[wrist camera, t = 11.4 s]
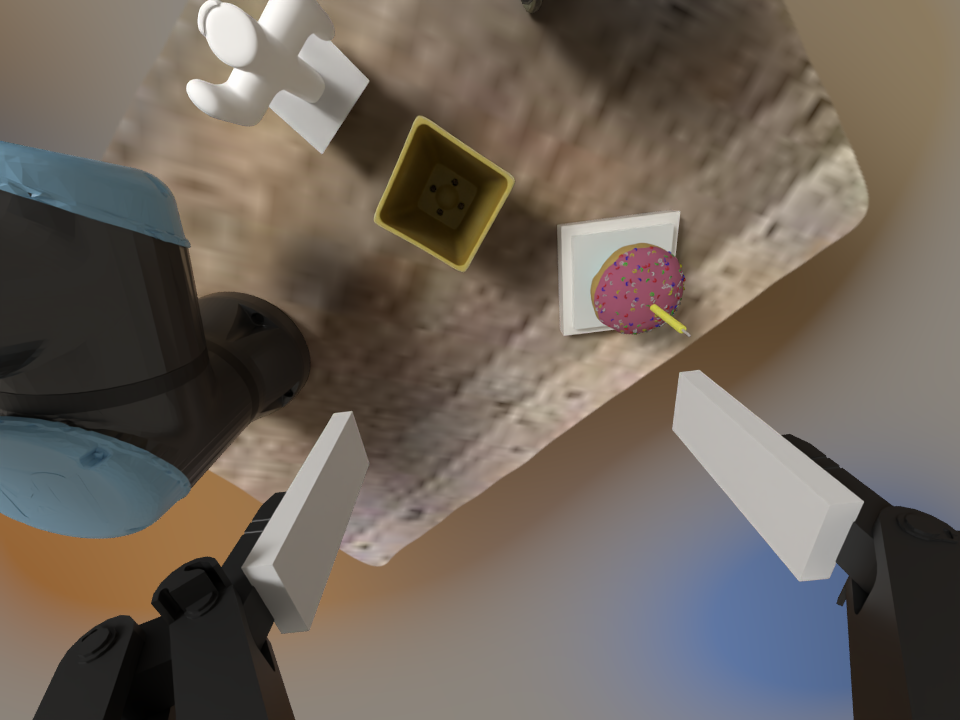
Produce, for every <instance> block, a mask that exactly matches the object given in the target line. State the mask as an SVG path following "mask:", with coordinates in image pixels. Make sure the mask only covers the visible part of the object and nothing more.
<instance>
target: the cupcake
mask: <svg viewBox="0 0 960 720" xmlns="http://www.w3.org/2000/svg"><path fill="white" fill-rule="evenodd" d="M681 267H682V265H681V264H679V262H678V260H677V258H676V257H675V256H674V255H673V254H671V252H670V251H668V252H667V251H666V250H665V249H663V248H661V247H659V246H655V245H652V244H648V243H637V244H633V245H627V246H624V247H621V248H619V249H618V250H617V251H615V252H614V253H613V254H612V255H611V256H610V257H609V258H608V259H607V260H606V261H605V262H604V264H603V265H602V267H601V269H600V270H599V272H598V273H597V274H596V275H595V276H594V278H593V280H592V283H591V289H590V294H591V301H592V305H593V308H594V311H595V314H596V317H597V319H598V320H599V321H600V322H601V323H603V324H604V325H606V326H608V327H610V328H613V329H615V330H616V331H618V332H620V333H621V334H639V333H642V332H648V331H652V329H654V328H656V327H658V326H659V327H660V326H663V324H665V322H666V323H667V324H669V325H670V326H671V327H673V328H674V329H675V330H676V331H678V332H679V333H685V334H686V335H687V336H688V337H690V336H691V335H690V334H689V333H688V332H687V331H686V327H685V326H684V325H683V324H681V323H680V322H679V321H677V320H676V319H675V318H673V317H672V316H674V315H675V314H674V311H677V307H678V306H679V305H680V304H681V302H680V300H681V299H682V294H683V290H685V288H684V287H683V286H684V283H683V281H685V280H684V279H685V278H684V275H683V272H682V270H681ZM679 303H680V304H679ZM673 314H674V315H673ZM661 324H662V325H661Z"/></svg>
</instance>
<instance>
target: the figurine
mask: <svg viewBox="0 0 960 720" xmlns="http://www.w3.org/2000/svg"><path fill="white" fill-rule="evenodd" d="M198 26H199V30H200V32H201V33H202V34H203V35H204V36H205V37H206V38H207V41H208V44H209V46H210V47H211V49H212V51H213V52H214V54H215V55H216V56H217V57H218V58H219V59H220V60H221V61H222V62H224V63H225V64H227V65H229V66H232V67H234V69H233V71H232V73H231V75H230V77H229V79H228V80H227V81H226V82H225V83H223V84H219V85H215V84H211V83H209V82H206V81H203V80H200V79H193V80H190V81H189V82H188V84H187V93H188V96H189V97H190V99H191V100H192V102H193V103H194V104H195V105H196V106H197V107H198V108H199V109H200V110H201V111H203V112H204V113H206V114H207V115H209V116H211V117H213V118H216V119H219V120H223V121H227V122H231V123H234V124H238V125H242V126H254V125H256V124H258V123H259V122H260V120H261V119H262V117H263V116H264V114H265V112H266V111H267V109H268V107H270V108H271V109H272V110H273V111H274V112H275V113H276V114H277V115H279V116H280V117H281V118H282V119H283V120H284V121H285V122H286V123H288V124H289V125H290V126H291V127H292V128H293V129H294V130H295V131H297V132H298V133H299V134H300V135H301V136H302V137H303V138H304V139H305V140H307V141H308V142H309V143H310V144H311V145H312V146H313V147H314V148H316V149H317V150H318V151H319V152H320V153H321V154H323V152H324V151H325V149H326V147H327V146H328V144H329V143H330V141H331V140H332V138H333V137H334V135H335V134H336V132H337V130H338V129H339V127H340V126H341V124H342V123H343V121H344V120H345V118H346V117H347V115H348V114H349V112H350V110H351V109H352V107H353V106H354V104H355V103H356V101H357V100H358V98H359V97H360V95H361V93H362V92H363V90H364V89H365V87H366V86H367V84H368V83H369V81H370V80H369V79H368V78H367V77H366V76H365V75H364V74H363V73H362V72H361V71H360V70H359V69H358V68H357V67H356V66H355V65H354V64H353V63H352V62H351V61H350V60H349V59H348V58H347V57H346V56H345V55H344V54H343V53H342V52H341V51H340V50H339V49H338V48H337V47H336V46H335V45H334V44H333V43H332V42H331V41H330V40H332V39H333V38H334V35H335V28H334V25H333V22H332V20H331V19H330V17H329V16H328V14H327V13H326V12H325V11H324V10H323V8H322V7H321V6H320V5H319V3H318V2H317V1H316V0H269V2H268V4H267V6H266V7H265V9H264V11H263V13H262V15H261V17H260V19H259V21H256V20H255V19H254V18H253V17H251V16H250V15H249V14H247V13H246V12H244V11H243V10H242V9H240V8H239V7H237V6H235V5H233V4H230V3H223V2H221V1H220V0H208V1H207V2H205V3H204V4H203V5H202V6H201V8H200V10H199V14H198Z"/></svg>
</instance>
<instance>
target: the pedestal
mask: <svg viewBox="0 0 960 720" xmlns="http://www.w3.org/2000/svg"><path fill="white" fill-rule="evenodd" d="M679 218H680V211H676V210H666V211H658V212H651V213H643V214H635V215H628V216H620V217H612V218H605V219H597V220H589V221H582V222H574V223H566V224H559V225H557V244H558V279H559V314H560V330H561V332H562V334H563V335H564V336H565V335H574V334H582V333H590V332H598V331H606V330H615V329H613V328H610V327H608V326H606V325H604V324H603V323H601V322H600V321H599V320H598V319H597V317H596V314H595V311H594V308H593V305H592V301H591V294H590V289H591V283H592V280H593V278H594V276H595V275H596V274H597V273H598V272H599V270H600V269H601V267H602V265H603V264H604V262H605V261H606V260H607V259H608V258H609V257H610V256H611V255H612V254H613V253H614V252H615V251H617V250H618V249H619V248H621V247H624V246H627V245H633V244H637V243H648V244H652V245H655V246H659V247H661V248H663V249H665V250H666V251H667V252H668V251H670V252H671V254H673V255H674V256H676V246H677V237H678V228H679ZM665 323H666V322H665Z"/></svg>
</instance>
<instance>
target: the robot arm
mask: <svg viewBox="0 0 960 720" xmlns="http://www.w3.org/2000/svg"><path fill="white" fill-rule="evenodd" d="M190 247H191V246H190V243H189V241H188V240H187V239H186V238H185V235H184V232H183V228H182V224H181V220H180V216H179V212H178V208H177V204H176V201H175V198H174V196H173V194H172V192H171V191H170V189H169V188H168V187H167V186H166V185H165V184H164V183H163V182H162V181H161V180H159V179H158V178H157V177H155V176H154V175H152V174H150V173H148V172H145V171H143V170H139V169H135V168H131V167H126V166H121V165H116V164H111V163H106V162H102V161H97V160H92V159H87V158H82V157H77V156H72V155H68V154H63V153H58V152H52V151H48V150H43V149H37V148H33V147H28V146H23V145H19V144H14V143H9V142H4V141H0V513H2V514H4V515H6V516H8V517H10V518H12V519H14V520H17V521H19V522H22V523H25V524H27V525H30V526H32V527H35V528H38V529H41V530H45V531H48V532H53V533H57V534H61V535H67V536H72V537H80V538H115V537H121V536H125V535H129V534H133V533H136V532H138V531H141V530H143V529H145V528H146V527H148V526H150V525H152V524H153V523H154V522H156V521H157V520H158V519H159V518H160V517H161V516H162V515H163V514H165V513H166V512H167V511H168V510H169V509H170V508H171V507H172V506H173V505H174V504H175V503H176V502H177V501H179V500H180V499H182V498H184V497H186V496H187V494H188V493H189V491H190V489H191V488H192V487H193V486H194V485H195V483H196V482H197V481H198V480H199V479H200V478H201V477H202V476H203V475H204V473H205V472H206V471H207V470H208V469H209V468H210V467H211V466H212V465H213V463H214V462H215V461H216V460H217V459H218V458H219V457H220V456H221V455H222V453H223V452H224V451H225V450H226V449H227V448H228V447H229V446H230V445H231V443H232V442H233V441H234V440H235V439H236V438H237V437H238V436H239V435H240V433H241V432H242V431H243V430H244V429H245V428H246V427H247V426H248V425H249V424H250V423H251V422H253V421H255V420H257V419H259V418H261V417H263V416H266V415H268V414H270V413H272V412H274V411H276V410H279V409H280V408H282V407H284V406H285V405H287V404H288V403H289V402H290V401H291V400H292V399H293V398H294V397H295V396H296V395H297V394H298V393H299V391H300V390H301V389H302V388H303V386H304V385H305V383H306V381H307V378H308V375H309V371H310V356H309V351H308V348H307V345H306V342H305V340H304V338H303V336H302V334H301V333H300V331H299V330H298V328H297V327H296V325H295V324H294V323H293V322H292V321H291V320H290V319H289V318H288V317H287V316H286V315H285V314H284V313H283V312H281V311H280V310H279V309H277V308H276V307H275V306H273V305H271V304H270V303H268V302H266V301H264V300H262V299H260V298H257V297H254V296H251V295H248V294H244V293H238V292H218V293H213V294H209V295H206V296H204V297H201V298H199V299H198V297H197V292H196V286H195V281H194V276H193V271H192V265H191V260H190V255H189V249H188V248H190ZM672 430H673V431H674V432H675V433H676V434H677V435H678V437H679V438H680V439H681V440H682V441H683V443H684V444H685V445H686V446H687V448H688V449H689V450H690V451H691V452H692V454H693V455H694V456H695V457H696V458H697V460H698V461H699V462H700V463H701V464H702V465H703V467H704V468H705V469H706V470H707V471H708V473H709V474H710V475H711V476H712V477H713V478H714V480H715V481H716V482H717V483H718V485H719V486H720V487H721V488H722V489H723V491H724V492H725V493H726V494H727V495H728V497H729V498H730V499H731V500H732V501H733V503H734V504H735V505H736V506H737V507H738V508H739V510H740V511H741V512H742V513H743V514H744V516H745V517H746V518H747V519H748V521H749V522H750V523H751V524H752V525H753V527H754V528H755V529H756V530H757V531H758V532H759V534H760V535H761V536H762V537H763V539H764V540H765V541H766V542H767V543H768V544H769V546H770V547H771V548H772V549H773V550H774V552H775V553H776V554H777V555H778V556H779V557H780V559H781V560H782V561H783V562H784V564H785V565H786V566H787V567H788V568H789V569H790V571H791V572H792V573H793V574H794V576H795V577H796V578H797V579H798V580H799V581H809V580H819V579H828V578H830V575H831V573H832V571H833V569H834V567H835V564H836V563H837V564H838V565H839V566H840V567H841V568H842V569H843V570H844V571H845V572H846V573H847V574H848V575H849V577H848V579H847V581H846V583H845V585H844V587H843V589H842V591H841V593H840V595H839V597H838V600H837V604H838V605H841V606H843V604H844V602H845V600H846V602H847V619H848V634H849V651H850V667H851V684H852V698H853V699H852V700H853V716H854V720H960V531H956V530H954V529H953V528H952V527H951V526H949V525H948V524H947V523H945V522H943V521H941V520H939V519H937V518H936V517H934V516H932V515H929V514H926V513H924V512H921V511H918V510H916V509H911V508H906V507H901V506H892V505H891V504H890V503H888V502H887V501H886V500H884V499H883V498H882V497H880V496H879V495H878V494H876V493H875V492H874V491H872V490H871V489H870V488H868V487H867V486H866V485H864V484H863V483H862V482H860V481H859V480H858V479H857V478H855V477H854V476H852V475H851V474H850V473H849V472H847V471H846V470H845V469H843V468H840V467H839V465H838V464H837V463H835V462H834V461H833V460H831V459H830V458H827V457H826V455H825V454H823V453H822V452H821V451H819V450H818V449H817V448H815V447H814V446H813V445H811V444H810V443H808V442H806V441H804V440H801V439H799V438H797V437H795V436H793V435H791V434H786V435H780V434H779V433H777V432H776V431H775V430H774V429H772V428H771V427H770V426H769V425H767V424H766V423H765V422H764V421H762V420H761V419H760V418H759V417H757V416H756V415H755V414H753V413H752V412H751V411H750V410H749V409H747V408H746V407H745V406H744V405H742V404H741V403H740V402H739V401H737V400H736V399H735V398H734V397H732V396H731V395H730V394H728V393H727V392H726V391H725V390H724V389H722V388H721V387H719V386H718V385H717V384H716V383H715V382H714V381H712V380H711V379H710V378H708V377H707V376H706V375H705V374H704V373H702V372H701V371H700V370H696V371H687V372H680V373H679V381H678V389H677V397H676V404H675V413H674V420H673V428H672ZM368 467H369V461H368V458H367V455H366V451H365V448H364V445H363V442H362V439H361V436H360V433H359V430H358V427H357V424H356V421H355V418H354V414H353V411H348V412H340V413H334V414H333V415H332V417H331V419H330V420H329V422H328V424H327V425H326V427H325V429H324V430H323V432H322V434H321V435H320V437H319V439H318V440H317V442H316V444H315V445H314V447H313V449H312V450H311V452H310V454H309V455H308V457H307V459H306V460H305V462H304V464H303V465H302V467H301V469H300V471H299V472H298V474H297V476H296V477H295V479H294V481H293V482H292V484H291V486H290V487H289V489H288V491H287V492H279V493H275V494H274V495H273V496H272V497H270V498H269V499H268V500H267V501H266V502H265V503H264V504H263V505H262V506H261V507H260V509H259V510H258V512H257V513H256V515H255V517H254V518H253V520H252V523H250V524H249V526H248V527H247V529H246V530H245V534H244V535H242V536H241V538H240V539H239V541H238V543H237V544H236V546H235V547H234V549H233V550H232V552H231V553H230V555H229V556H228V558H227V559H226V561H225V562H224V564H223V565H222V567H221V566H220V565H219V563H218V562H217V560H216V559H215V558H212V557H202V558H197V559H194V560H192V561H190V562H188V563H185V564H183V565H182V566H181V567H179V568H178V569H176V570H175V571H173V572H172V573H171V574H170V575H169V576H168V577H167V578H166V579H165V580H163V582H161V584H160V585H159V587H158V588H157V590H156V591H155V593H154V594H153V598H152V602H151V604H152V605H153V606H154V608H155V609H156V610H157V611H158V612H159V613H160V615H161V617H158V618H156V619H153V620H150V621H148V622H145V623H143V624H140V625H138V624H137V623H136V622H135V621H134V620H133V619H132V618H131V617H130V616H126V615H120V616H117V617H114V618H110V619H108V620H106V621H104V622H102V623H101V624H99V625H97V626H95V627H94V628H92V629H91V630H90V631H88V632H87V633H86V634H85V635H83V636H82V637H81V638H80V639H79V640H78V641H77V642H76V643H75V644H74V645H73V646H72V647H71V648H70V649H69V650H68V651H67V653H66V654H65V656H64V657H63V659H62V660H61V662H60V663H59V665H58V667H57V669H56V672H55V674H54V676H53V678H52V680H51V682H50V684H49V686H48V688H47V691H46V693H45V695H44V697H43V699H42V701H41V703H40V705H39V707H38V710H37V712H36V714H35V716H34V718H33V720H295V717H294V714H293V711H292V708H291V705H290V702H289V699H288V696H287V693H286V689H285V686H284V683H283V680H282V677H281V674H280V671H279V667H278V665H277V661H276V658H275V655H274V652H273V649H272V645H271V643H270V641H269V640H268V638H267V636H268V633H269V631H270V629H271V627H272V625H273V622H275V624H276V625H277V627H278V629H279V630H280V632H281V633H282V634H283V633H294V632H304V631H309V630H310V627H311V624H312V621H313V619H314V616H315V613H316V611H317V607H318V605H319V602H320V599H321V597H322V594H323V591H324V588H325V586H326V583H327V580H328V577H329V575H330V572H331V569H332V566H333V563H334V561H335V558H336V555H337V552H338V550H339V547H340V544H341V541H342V539H343V536H344V533H345V530H346V527H347V525H348V522H349V519H350V516H351V514H352V511H353V508H354V505H355V503H356V500H357V497H358V494H359V491H360V489H361V486H362V483H363V480H364V478H365V475H366V472H367V469H368Z"/></svg>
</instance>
